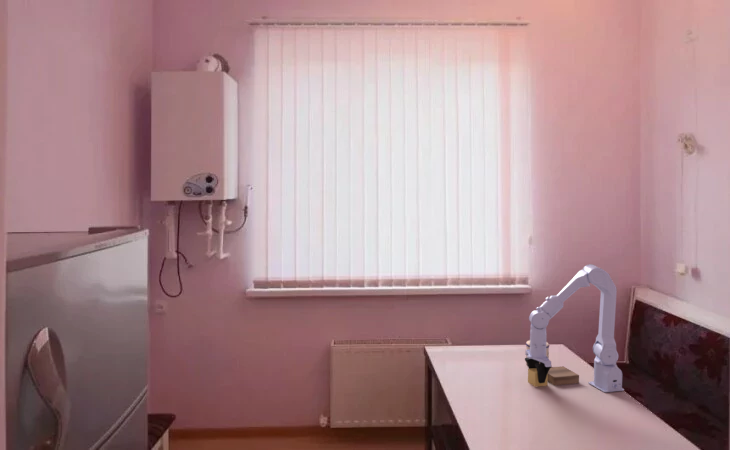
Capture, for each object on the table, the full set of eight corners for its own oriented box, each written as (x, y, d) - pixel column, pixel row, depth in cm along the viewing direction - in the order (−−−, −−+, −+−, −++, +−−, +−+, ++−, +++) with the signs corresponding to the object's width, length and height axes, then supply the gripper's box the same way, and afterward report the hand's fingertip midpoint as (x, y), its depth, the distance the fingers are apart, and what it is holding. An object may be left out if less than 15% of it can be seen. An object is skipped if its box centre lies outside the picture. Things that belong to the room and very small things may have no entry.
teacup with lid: (552, 368, 212) (552, 340, 211) (529, 369, 212) (529, 340, 211) (542, 359, 224) (542, 331, 223) (520, 359, 224) (520, 332, 223)
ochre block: (547, 385, 194) (547, 372, 194) (534, 386, 193) (535, 373, 193) (540, 380, 199) (540, 367, 199) (527, 381, 198) (528, 368, 198)
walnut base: (578, 383, 197) (579, 375, 196) (554, 385, 195) (554, 377, 194) (563, 373, 206) (563, 366, 206) (539, 376, 204) (539, 368, 204)
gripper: (518, 338, 202) (517, 374, 202) (538, 350, 187) (538, 388, 188) (535, 337, 203) (534, 372, 204) (556, 348, 189) (556, 386, 190)
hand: (537, 379), depth 196 cm, fingers closed on ochre block, 5 cm apart
